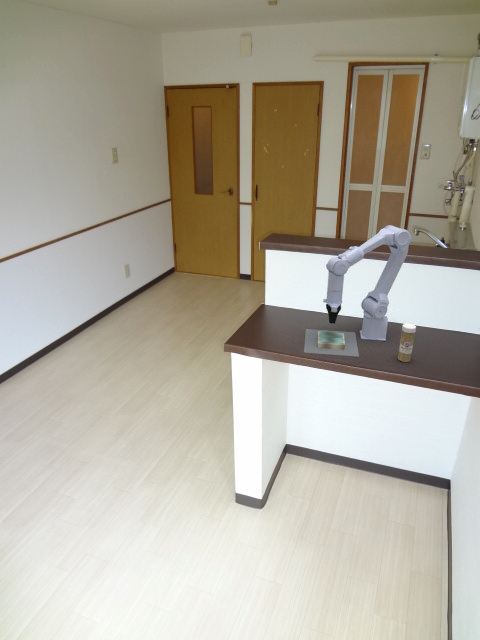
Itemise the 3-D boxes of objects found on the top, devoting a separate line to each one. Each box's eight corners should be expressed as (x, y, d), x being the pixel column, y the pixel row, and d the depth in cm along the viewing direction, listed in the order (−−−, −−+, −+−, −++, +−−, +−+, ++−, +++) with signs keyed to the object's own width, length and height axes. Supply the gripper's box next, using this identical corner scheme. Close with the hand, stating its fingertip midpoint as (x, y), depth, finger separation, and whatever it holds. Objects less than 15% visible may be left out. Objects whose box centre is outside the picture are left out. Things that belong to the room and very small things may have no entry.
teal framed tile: (343, 332, 181) (345, 344, 171) (343, 337, 182) (344, 349, 172) (318, 331, 182) (318, 342, 172) (317, 335, 183) (317, 347, 173)
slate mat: (354, 333, 187) (355, 332, 187) (359, 357, 167) (359, 356, 167) (305, 329, 190) (305, 329, 190) (303, 353, 170) (303, 352, 170)
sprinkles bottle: (399, 362, 163) (405, 328, 158) (395, 356, 167) (400, 323, 162) (412, 362, 163) (418, 328, 158) (408, 356, 167) (413, 323, 162)
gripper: (324, 283, 178) (321, 315, 184) (324, 295, 165) (321, 329, 170) (342, 284, 177) (339, 316, 183) (344, 296, 164) (340, 330, 169)
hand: (332, 322), depth 176 cm, fingers closed
